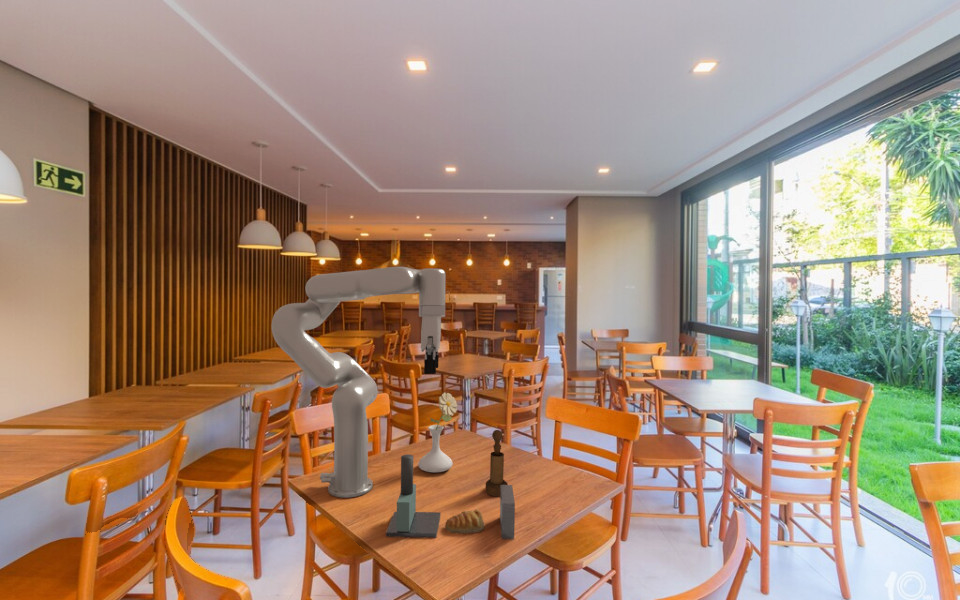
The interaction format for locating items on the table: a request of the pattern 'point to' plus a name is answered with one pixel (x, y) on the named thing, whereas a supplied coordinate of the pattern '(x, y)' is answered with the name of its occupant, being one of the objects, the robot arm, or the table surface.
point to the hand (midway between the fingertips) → (431, 370)
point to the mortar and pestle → (496, 467)
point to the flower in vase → (436, 457)
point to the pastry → (465, 522)
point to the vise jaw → (406, 495)
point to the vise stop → (507, 512)
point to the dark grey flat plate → (417, 525)
